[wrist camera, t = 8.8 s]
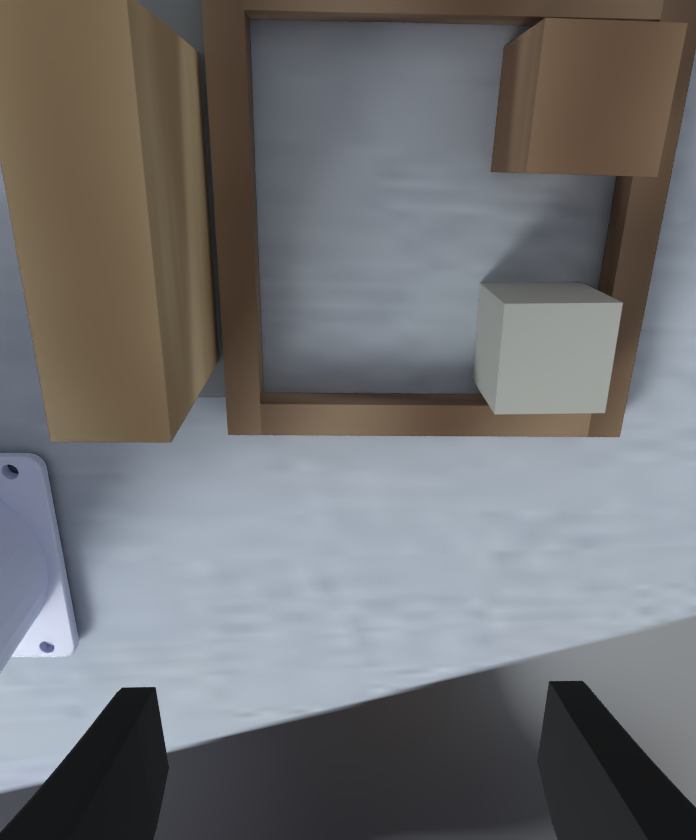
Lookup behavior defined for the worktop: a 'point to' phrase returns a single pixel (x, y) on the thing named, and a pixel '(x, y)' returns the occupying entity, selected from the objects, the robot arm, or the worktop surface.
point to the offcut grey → (545, 347)
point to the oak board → (109, 214)
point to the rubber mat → (183, 14)
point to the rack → (238, 236)
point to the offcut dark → (587, 97)
